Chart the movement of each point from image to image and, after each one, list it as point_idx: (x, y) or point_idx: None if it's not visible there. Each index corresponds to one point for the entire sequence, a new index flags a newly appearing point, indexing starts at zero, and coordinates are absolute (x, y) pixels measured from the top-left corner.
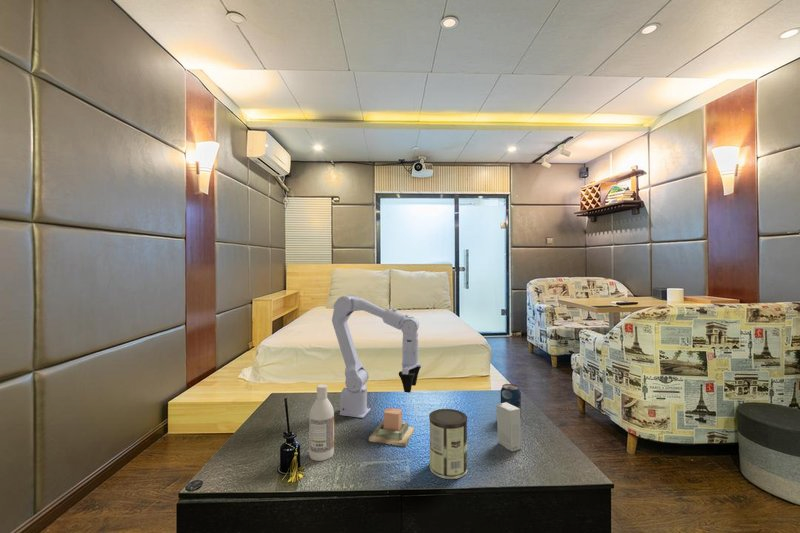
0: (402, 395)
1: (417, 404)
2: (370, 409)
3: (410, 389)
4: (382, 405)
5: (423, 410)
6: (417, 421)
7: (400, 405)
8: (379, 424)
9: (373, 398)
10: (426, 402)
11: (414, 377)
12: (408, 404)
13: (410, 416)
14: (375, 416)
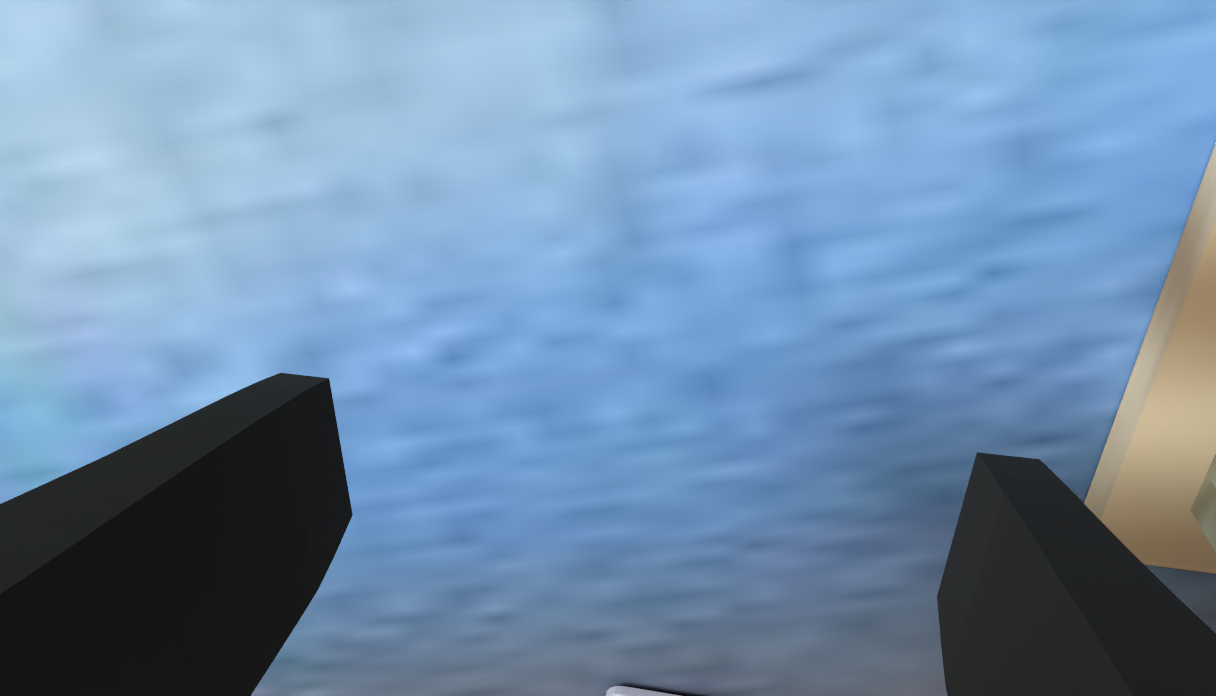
0: (16, 414)
1: (185, 157)
2: (622, 690)
3: (1102, 524)
4: (431, 586)
5: (365, 7)
6: (849, 27)
7: (336, 389)
8: (1145, 562)
9: (286, 688)
10: (33, 18)
11: (157, 586)
12: (252, 290)
13: (670, 185)
14: (779, 614)
